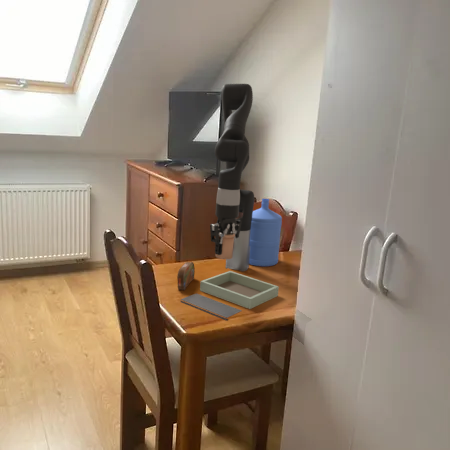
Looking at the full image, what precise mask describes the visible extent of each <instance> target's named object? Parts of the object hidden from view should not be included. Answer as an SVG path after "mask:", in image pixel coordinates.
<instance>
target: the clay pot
mask: <svg viewBox="0 0 450 450" xmlns="http://www.w3.org/2000/svg"><path fill="white" fill-rule="evenodd" d="M219 233H220V232H219ZM220 234H223V233H220ZM220 237H221V236H219V240H220ZM234 237H235V233H227V234H226V235H225V237H223V238H224V239H223V242H222V254H221V255H218V254H216V253H215V258H216V259H221V260H226V259H232V257H233V245H234Z"/></svg>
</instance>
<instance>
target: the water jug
mask: <svg viewBox="0 0 450 450" xmlns="http://www.w3.org/2000/svg"><path fill="white" fill-rule="evenodd" d="M269 202H270V199H269V198H261V207H260V208H257V209H255V210H253V214H252V222H251V232H250V245H249V246H250V258H249V265H252V266H255V267H256V266H257V267H271V266H276V265H277V264H278V262H279V251H280V243H281V242H280V241H281V240H280V239H281V230H282V224H283V221H282V220H283V217H282V215H280V214H279V213H277V212H275V211H273V210H271V209H270V208H269V206H270V205H269V204H270V203H269Z"/></svg>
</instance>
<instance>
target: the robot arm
mask: <svg viewBox="0 0 450 450" xmlns="http://www.w3.org/2000/svg"><path fill="white" fill-rule="evenodd" d="M253 96H254V95H253V88H252V86H251V84H249V83H225V84H224V85H222V88H221V106H222V115H223V123H224V124H223V125H224V126H223V131H222V135H221V136H220V138H219V139H218V140H217V142H216V144H215V146H214V147H215V148H214V155H215V157H216V159H217V160H218V161H219V162H225V169H221V170H220V171H219V173H218V181H217V182H218V184H217V191H216V192H217V193H216V200H215V201H216V202H215V203H216V204H215V216H216V218H217V221H216V223H210V225H209V227H210V241H211V242H212V243H214V254H215V255H216V254H218V255H221V254H222V242H223V239H224V238H223V237H225V235H226V234H227V233H235V237H234V245H233V257H232V259H225V269H230V270H235V271H239V272H246V271H248V269H249V267H250V264H249V258H250V246H249V245H250V232H251V222H252V214H253V211H254V206H255V205H254V204H255V194H254V192H253V191H252V190H247V189H241V180H242V173H243V172H244V171H245V169H246V166H247V165H248V163H249V161H250V144H249V143H250V142H249V140H248V138H247V137H246V134H245V133H246V125H247V122H248V119H249V115H250V113H251V110H252V107H253V100H254V97H253ZM233 111H234V112H233ZM239 213H242V216H241V217H239V216H240V215H239ZM219 232H220V233H223V234H220V233H219ZM219 236H221V237H220V240H219Z"/></svg>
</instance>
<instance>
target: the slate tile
mask: <svg viewBox="0 0 450 450" xmlns="http://www.w3.org/2000/svg"><path fill="white" fill-rule="evenodd" d="M180 303H182V304H184V305H186V306H189V307H192V308H194V309H197V310H199V311H202V312H204V313H206V314H209V315H212V316H215V317H216V318H219V319H221V320H223V321H226V322H227V321H229V319H228V318H231V317H232V316H234V315H236V314H238V313H240V312H242V311H243V310H241V309H238V308H237V307H233V306H231V305H228V304H225V303H223V302H220V301H218V300H216V299H213V298H209V297H208V296H204V295H202V294H200V293H194V294H192V295H188V296H186V297H183V298H181V299H180Z"/></svg>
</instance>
